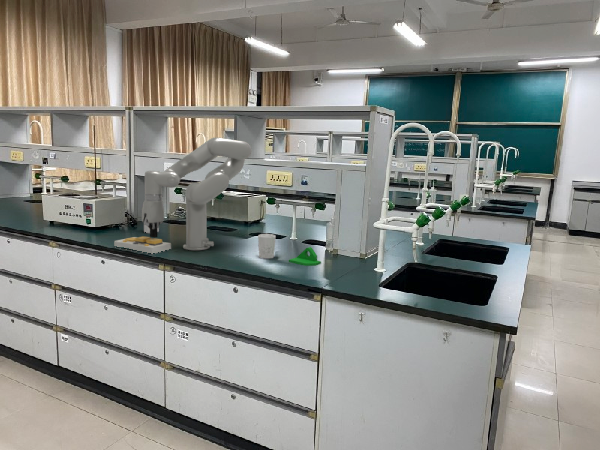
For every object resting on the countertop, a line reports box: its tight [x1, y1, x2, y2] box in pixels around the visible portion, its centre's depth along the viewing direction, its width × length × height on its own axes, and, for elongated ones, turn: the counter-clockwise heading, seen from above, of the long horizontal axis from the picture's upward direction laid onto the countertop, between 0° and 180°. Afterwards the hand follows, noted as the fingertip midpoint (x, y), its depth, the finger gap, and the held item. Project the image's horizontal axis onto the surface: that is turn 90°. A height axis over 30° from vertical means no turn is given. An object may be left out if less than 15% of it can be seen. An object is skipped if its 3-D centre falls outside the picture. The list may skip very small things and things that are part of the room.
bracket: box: [288, 246, 322, 267], centre depth 197 cm, size 12×8×7 cm, turn 54°
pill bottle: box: [143, 224, 160, 234], centre depth 250 cm, size 8×8×15 cm
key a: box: [146, 237, 163, 246], centre depth 209 cm, size 5×5×3 cm
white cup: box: [257, 233, 277, 260], centre depth 205 cm, size 8×8×10 cm
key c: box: [124, 236, 135, 242], centre depth 216 cm, size 5×5×3 cm
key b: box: [135, 235, 152, 244], centre depth 212 cm, size 5×5×3 cm
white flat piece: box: [113, 236, 172, 255], centre depth 212 cm, size 24×12×4 cm, turn 63°
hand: (153, 236), depth 209 cm, fingers closed
